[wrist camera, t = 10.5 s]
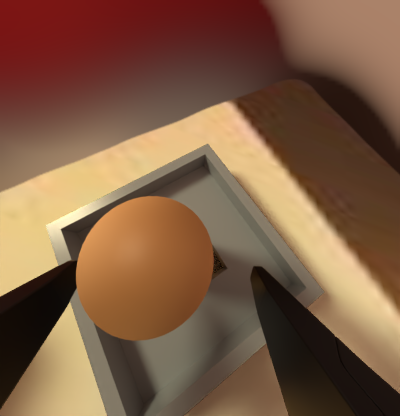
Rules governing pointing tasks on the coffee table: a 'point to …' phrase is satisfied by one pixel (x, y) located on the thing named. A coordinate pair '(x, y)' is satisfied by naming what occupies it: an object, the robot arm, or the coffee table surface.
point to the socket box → (210, 306)
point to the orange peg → (144, 268)
